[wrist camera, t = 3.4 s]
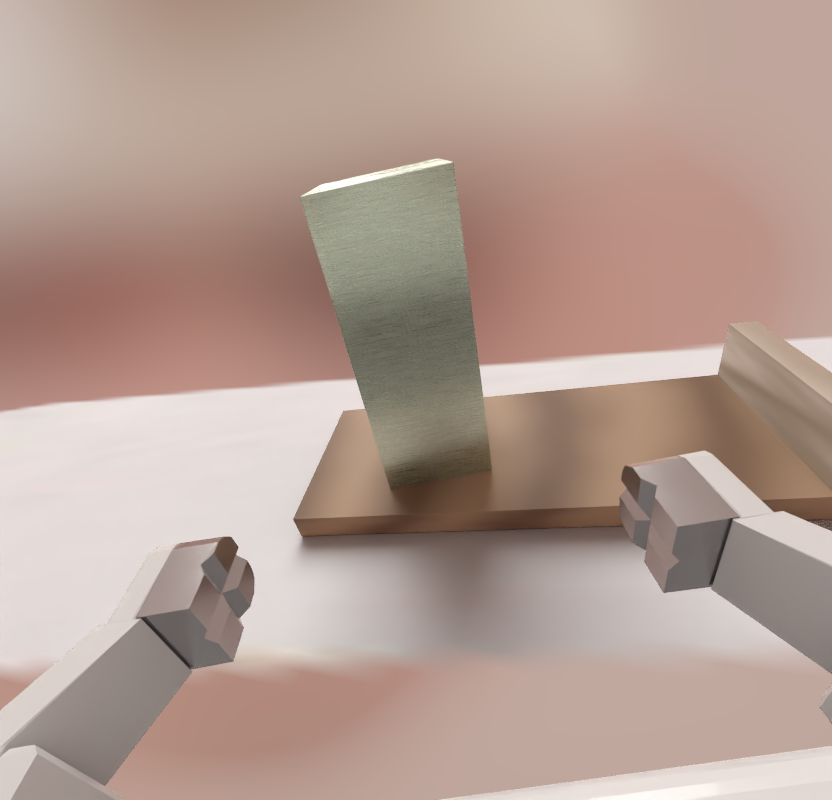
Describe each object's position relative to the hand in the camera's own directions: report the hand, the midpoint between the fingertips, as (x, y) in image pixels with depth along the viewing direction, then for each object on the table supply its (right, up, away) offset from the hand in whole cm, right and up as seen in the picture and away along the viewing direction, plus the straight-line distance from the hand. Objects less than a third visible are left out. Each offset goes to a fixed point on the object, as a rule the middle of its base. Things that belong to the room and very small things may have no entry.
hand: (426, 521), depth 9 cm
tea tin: (+1, 0, +13) cm, 13 cm away
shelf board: (+6, 0, +13) cm, 14 cm away
